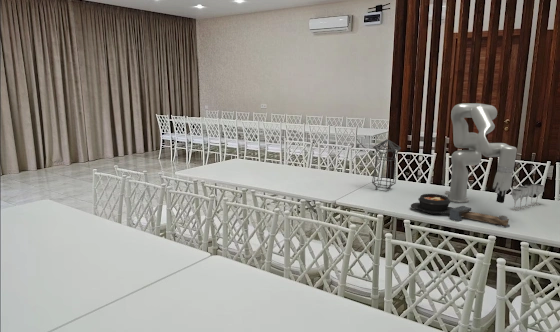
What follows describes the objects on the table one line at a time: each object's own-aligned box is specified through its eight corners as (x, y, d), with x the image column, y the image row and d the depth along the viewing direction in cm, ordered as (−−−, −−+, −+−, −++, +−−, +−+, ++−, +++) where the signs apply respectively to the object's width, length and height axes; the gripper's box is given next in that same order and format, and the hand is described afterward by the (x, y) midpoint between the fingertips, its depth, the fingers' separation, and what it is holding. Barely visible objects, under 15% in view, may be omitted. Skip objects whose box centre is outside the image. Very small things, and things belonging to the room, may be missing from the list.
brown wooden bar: (508, 223, 205) (509, 216, 204) (506, 225, 201) (507, 218, 200) (462, 214, 219) (462, 207, 218) (459, 216, 215) (460, 209, 214)
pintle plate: (491, 224, 205) (491, 223, 205) (499, 221, 209) (499, 221, 209) (505, 228, 200) (505, 227, 199) (512, 225, 203) (512, 225, 203)
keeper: (449, 218, 214) (450, 209, 212) (462, 215, 220) (463, 205, 219) (457, 221, 209) (458, 211, 208) (470, 217, 216) (471, 208, 214)
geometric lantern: (376, 185, 285) (380, 137, 278) (398, 189, 276) (403, 139, 269) (368, 189, 273) (372, 139, 266) (390, 193, 264) (394, 141, 257)
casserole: (407, 212, 225) (408, 197, 224) (414, 203, 241) (415, 190, 239) (454, 219, 213) (456, 204, 211) (458, 210, 229) (460, 196, 227)
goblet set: (516, 211, 227) (519, 189, 224) (507, 209, 232) (509, 187, 229) (543, 204, 240) (546, 183, 238) (534, 202, 245) (536, 181, 242)
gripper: (506, 166, 216) (500, 197, 220) (490, 169, 208) (485, 202, 213) (520, 169, 210) (514, 201, 214) (504, 172, 202) (499, 206, 207)
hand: (500, 202), depth 213 cm, fingers closed
